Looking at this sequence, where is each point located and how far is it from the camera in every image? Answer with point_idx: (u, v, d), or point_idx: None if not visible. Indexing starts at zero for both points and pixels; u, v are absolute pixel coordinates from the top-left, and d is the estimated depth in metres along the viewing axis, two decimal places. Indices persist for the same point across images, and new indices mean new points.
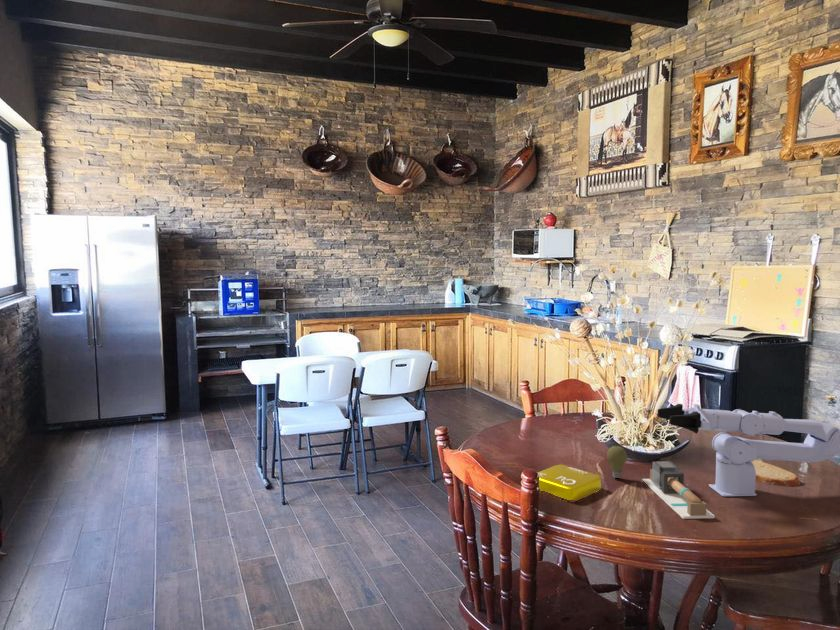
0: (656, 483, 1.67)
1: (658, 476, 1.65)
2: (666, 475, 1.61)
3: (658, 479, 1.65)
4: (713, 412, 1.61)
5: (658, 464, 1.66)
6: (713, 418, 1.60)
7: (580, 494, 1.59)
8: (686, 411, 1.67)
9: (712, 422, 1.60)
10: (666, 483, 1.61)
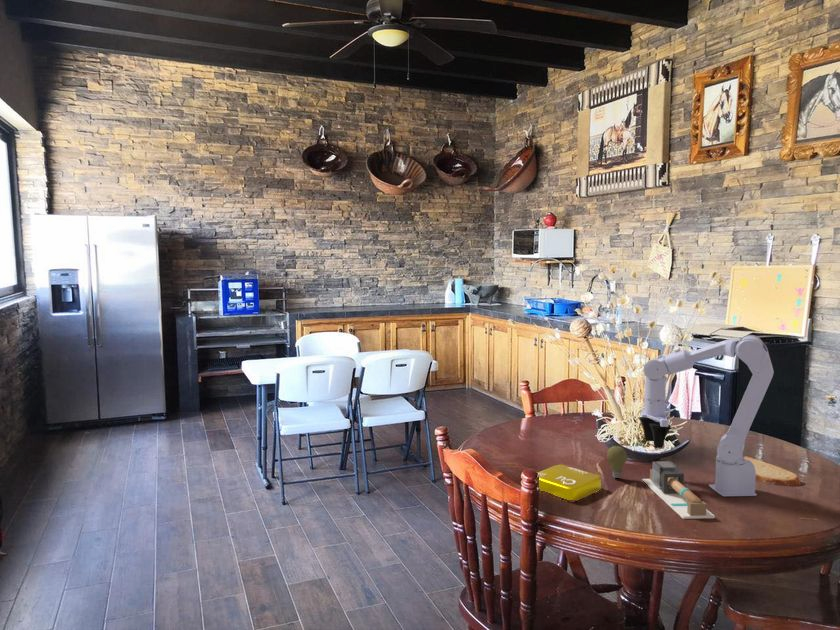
0: (656, 483, 1.67)
1: (658, 476, 1.65)
2: (666, 475, 1.61)
3: (658, 479, 1.65)
4: (648, 402, 1.72)
5: (658, 464, 1.66)
6: (655, 404, 1.71)
7: (580, 495, 1.59)
8: None
9: (659, 406, 1.70)
10: (666, 483, 1.61)
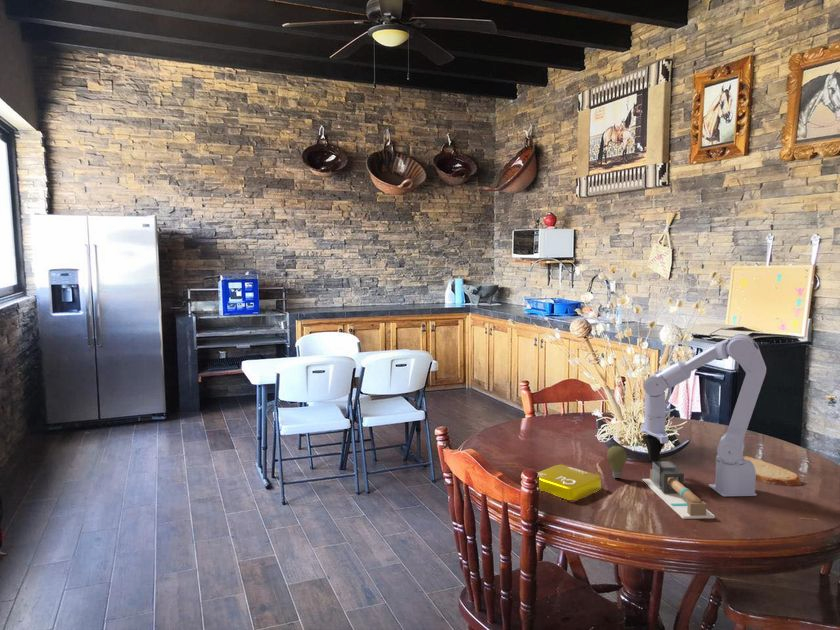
0: (656, 483, 1.67)
1: (658, 476, 1.65)
2: (666, 475, 1.61)
3: (658, 479, 1.65)
4: (648, 419, 1.72)
5: (658, 464, 1.66)
6: (655, 421, 1.71)
7: (580, 494, 1.59)
8: None
9: (658, 422, 1.71)
10: (666, 483, 1.61)
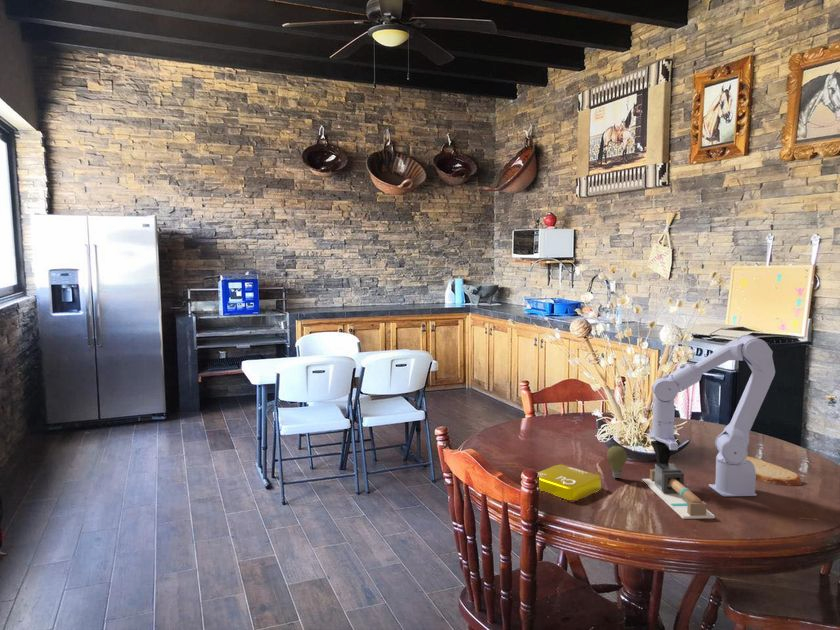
0: (658, 485, 1.65)
1: (661, 478, 1.63)
2: (666, 475, 1.61)
3: (661, 481, 1.63)
4: (657, 424, 1.66)
5: (661, 466, 1.65)
6: (664, 426, 1.65)
7: (580, 494, 1.59)
8: None
9: (667, 428, 1.65)
10: (666, 483, 1.61)
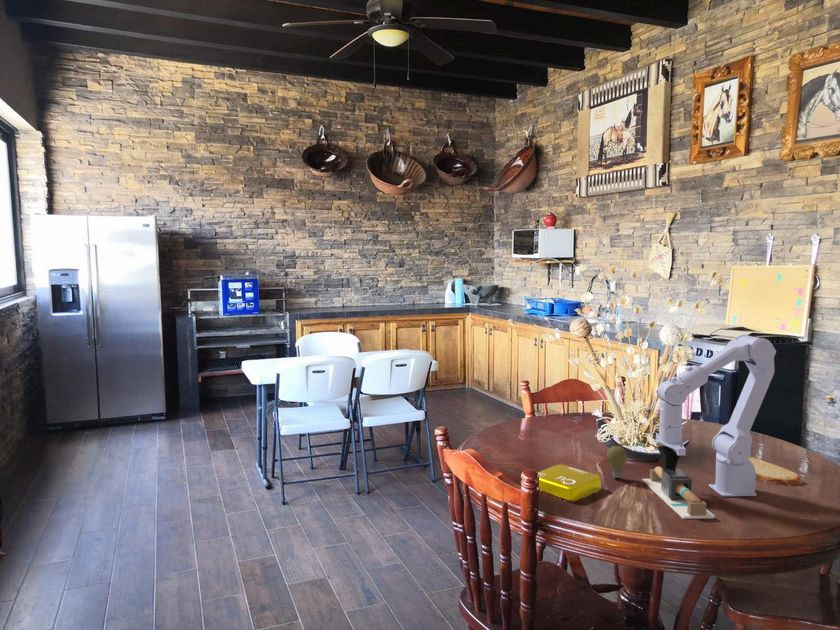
0: (666, 492, 1.60)
1: (668, 484, 1.59)
2: (673, 481, 1.57)
3: (668, 487, 1.59)
4: (664, 429, 1.61)
5: (668, 472, 1.60)
6: (671, 431, 1.60)
7: (580, 494, 1.59)
8: None
9: (675, 432, 1.60)
10: (673, 489, 1.57)
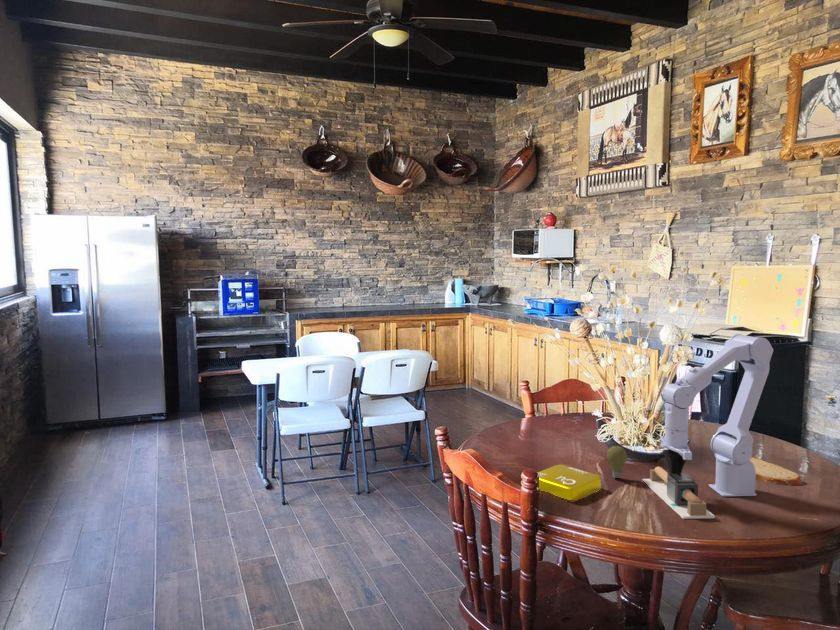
0: (671, 497, 1.57)
1: (674, 489, 1.55)
2: (679, 486, 1.53)
3: (674, 492, 1.55)
4: (669, 432, 1.58)
5: (674, 477, 1.57)
6: (677, 435, 1.57)
7: (580, 494, 1.59)
8: None
9: (681, 436, 1.57)
10: (679, 494, 1.53)
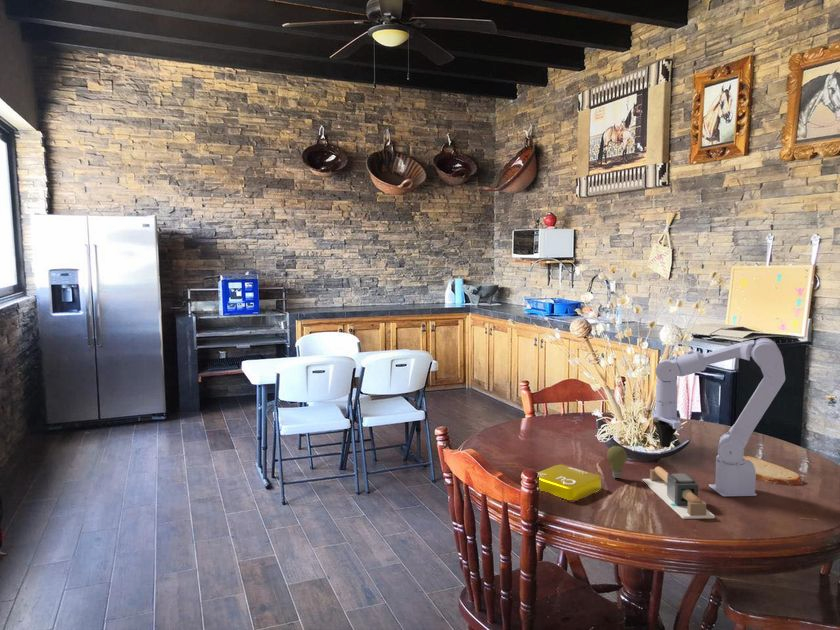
0: (671, 497, 1.57)
1: (674, 489, 1.55)
2: (679, 486, 1.53)
3: (674, 493, 1.55)
4: (660, 404, 1.69)
5: (674, 477, 1.56)
6: (667, 406, 1.68)
7: (580, 494, 1.59)
8: None
9: (671, 408, 1.68)
10: (679, 495, 1.53)
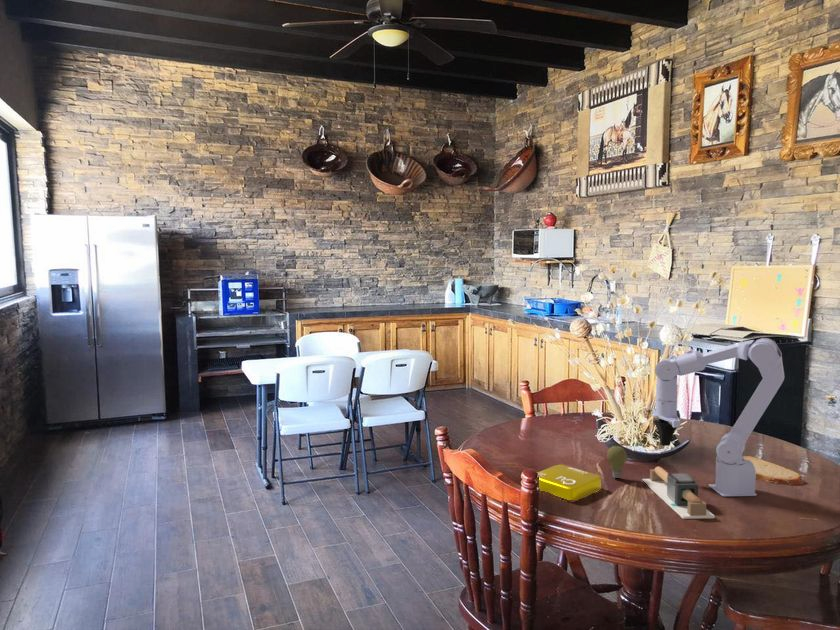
0: (671, 497, 1.57)
1: (674, 489, 1.55)
2: (679, 486, 1.53)
3: (674, 493, 1.55)
4: (660, 403, 1.71)
5: (674, 477, 1.56)
6: (667, 405, 1.70)
7: (580, 494, 1.59)
8: None
9: (670, 406, 1.69)
10: (679, 495, 1.53)
